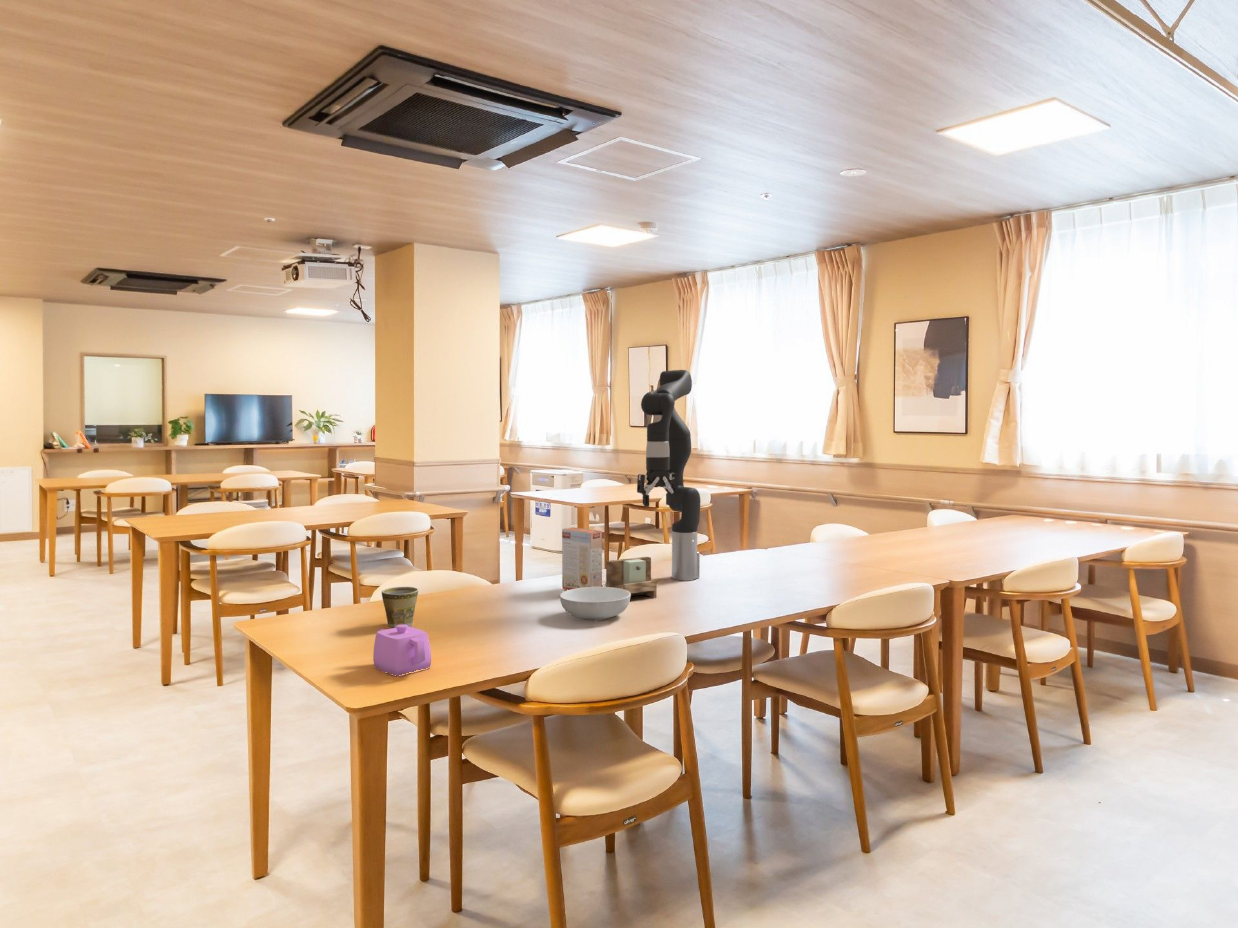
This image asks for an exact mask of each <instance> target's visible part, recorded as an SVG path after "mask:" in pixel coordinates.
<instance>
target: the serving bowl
mask: <svg viewBox="0 0 1238 928" xmlns="http://www.w3.org/2000/svg"><path fill="white" fill-rule="evenodd" d="M631 597H632V596H631V594H630V592H629V591H627V590H624V589H620V588H613V587H606V586H602V587H584V588H576V589H571V590H564V591H562V592H561V593H560V594H559V601H560V604H561V606H562V608H563V610H564V611H565V612H566V613H567V614H569V615H571V616H573V617H576V618H579V619H583V620H588V621H603V620H607V619H610V618H612V617H613V618H614V617H615V616H618V615H620V614H622V613H623V612H625V610H626V609H627V608H628V606H629V604H630V600H631Z"/></svg>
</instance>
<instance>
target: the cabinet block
mask: <svg viewBox="0 0 1238 928" xmlns="http://www.w3.org/2000/svg"><path fill="white" fill-rule="evenodd" d="M638 582H646V561H644V560H641V559H635V560H626V561H623V584H630V583H638Z"/></svg>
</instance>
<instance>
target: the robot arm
mask: <svg viewBox="0 0 1238 928" xmlns="http://www.w3.org/2000/svg"><path fill="white" fill-rule="evenodd" d="M692 388H693V380H692V375H691V372H689V370H687V369H677V370H676V369H673V370H672V369H671V370H664V371H662V372H660V375H659V387H658V388H657V389H655V390H652V391H649V392H646V393H645V394H644V395H643V397H642V399H641V402H640V408H641V411H642V412H643V413H644V414H645V415H647V416H662V417H661V419H660V420H658V421H654V422H651V423H649V424H648V425H647V427H646V449H645V457H646V458H645V469H646V474H642V473H641V474H640V473H638V475H637V480H636V481H637V483H636V493H639V494H641V495H642V505H643V507H647V508H648V507H650V495H649V494H650V492H652V490H653V489H654V488H663V490H664V491H665V492H666V493H665V505H666V506H668V507H669V509H670V510H671V511H673V512H678V513H681V516H680V519H679V520H677V521H674V522H673V523H672V525H671V579H674V580H675V581H676V580H677V581H693V580H697V579H700V561H701V560H700V558H701V556H700V555H701V554H700V551H698V528H699V524H700V521H701V520H700V518H701V503H702V502H701V501H702V500H701V494H700V492H699V491H698V489H697V488H695V487H690V486H688V487H687V486H684V484H685V483H684V472H685V468H686V465H687V464H688V461H689V458H690V456H691V453H692V437H691V430H690V429H689V427H688V426H687V424H686V422H685V421H684V420H683V419H682V417H680V415H679V413H678V412H677V410H676V408H675V403H676V401H677V400H679V399H680V398H683V397H684V396H687V395H689V394H690V393H691V391H692ZM645 481H646V483H645Z"/></svg>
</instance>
